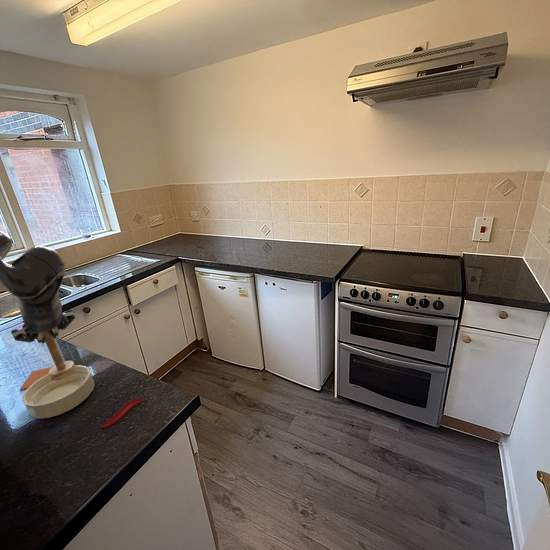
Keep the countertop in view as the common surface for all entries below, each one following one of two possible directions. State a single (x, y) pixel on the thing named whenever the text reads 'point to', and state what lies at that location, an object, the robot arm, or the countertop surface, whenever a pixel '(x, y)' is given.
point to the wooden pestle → (58, 360)
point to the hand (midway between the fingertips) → (47, 338)
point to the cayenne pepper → (122, 412)
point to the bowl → (58, 393)
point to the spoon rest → (35, 377)
